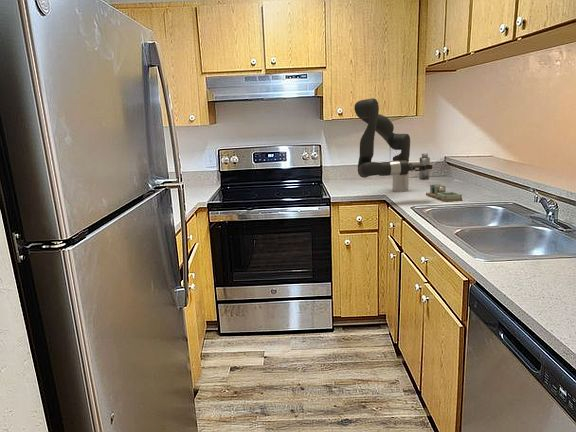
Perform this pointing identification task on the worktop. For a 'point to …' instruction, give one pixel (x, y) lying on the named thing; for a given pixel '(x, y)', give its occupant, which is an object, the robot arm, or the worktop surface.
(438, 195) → the hub seat
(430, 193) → the base board
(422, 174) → the grey bottle
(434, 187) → the shaft and pillow blocks
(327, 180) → the worktop surface
